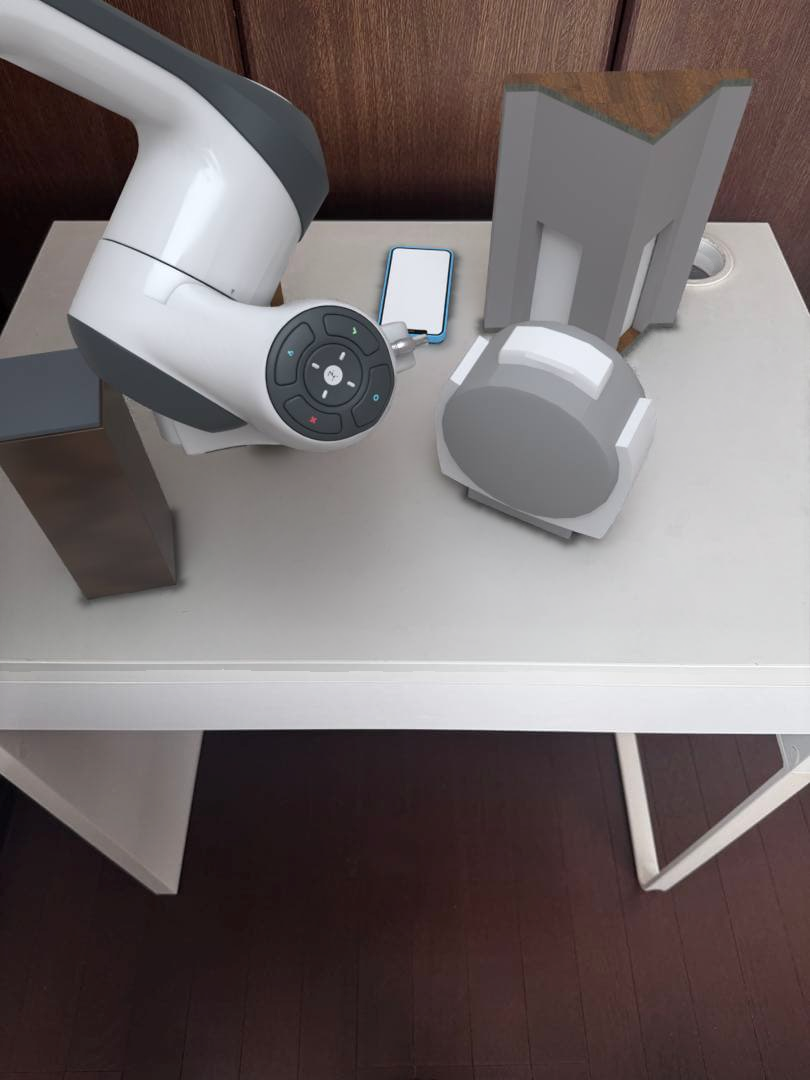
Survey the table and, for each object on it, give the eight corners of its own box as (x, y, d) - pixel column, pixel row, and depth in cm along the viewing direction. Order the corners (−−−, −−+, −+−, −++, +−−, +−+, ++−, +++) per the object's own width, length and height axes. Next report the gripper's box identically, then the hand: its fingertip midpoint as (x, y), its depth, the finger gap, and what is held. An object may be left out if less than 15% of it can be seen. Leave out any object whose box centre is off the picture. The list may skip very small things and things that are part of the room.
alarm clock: (631, 502, 84) (687, 351, 67) (599, 569, 80) (650, 426, 63) (464, 435, 89) (476, 277, 72) (425, 495, 85) (428, 343, 68)
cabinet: (669, 317, 98) (750, 68, 74) (686, 381, 92) (780, 134, 69) (483, 322, 97) (505, 73, 74) (490, 386, 92) (516, 141, 69)
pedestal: (86, 599, 79) (-14, 445, 60) (87, 527, 83) (-7, 362, 64) (176, 584, 79) (104, 428, 61) (171, 513, 84) (103, 347, 65)
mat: (-11, 443, 60) (-14, 438, 60) (-4, 364, 64) (-7, 359, 64) (101, 426, 61) (99, 421, 61) (100, 349, 65) (98, 344, 65)
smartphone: (453, 249, 103) (444, 337, 94) (453, 257, 104) (444, 345, 95) (390, 245, 103) (376, 333, 95) (390, 253, 104) (376, 341, 96)
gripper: (424, 292, 61) (380, 309, 74) (133, 371, 57) (142, 373, 70) (446, 381, 62) (400, 381, 76) (164, 463, 59) (168, 449, 72)
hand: (274, 378), depth 73 cm, fingers open, 8 cm apart
